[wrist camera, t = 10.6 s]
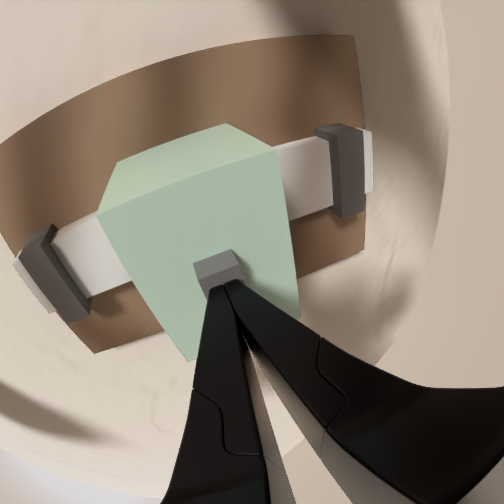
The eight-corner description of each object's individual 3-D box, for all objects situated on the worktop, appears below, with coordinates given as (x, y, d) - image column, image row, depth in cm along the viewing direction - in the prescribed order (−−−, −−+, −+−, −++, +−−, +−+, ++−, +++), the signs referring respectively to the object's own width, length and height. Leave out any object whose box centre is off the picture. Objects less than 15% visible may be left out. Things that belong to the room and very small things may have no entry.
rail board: (336, 37, 11) (379, 33, 9) (352, 238, 20) (381, 265, 17) (-17, 160, 8) (-51, 184, 6) (95, 337, 17) (93, 377, 14)
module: (226, 123, 11) (290, 157, 6) (256, 248, 16) (309, 331, 11) (117, 162, 11) (90, 230, 6) (171, 280, 15) (191, 377, 10)
